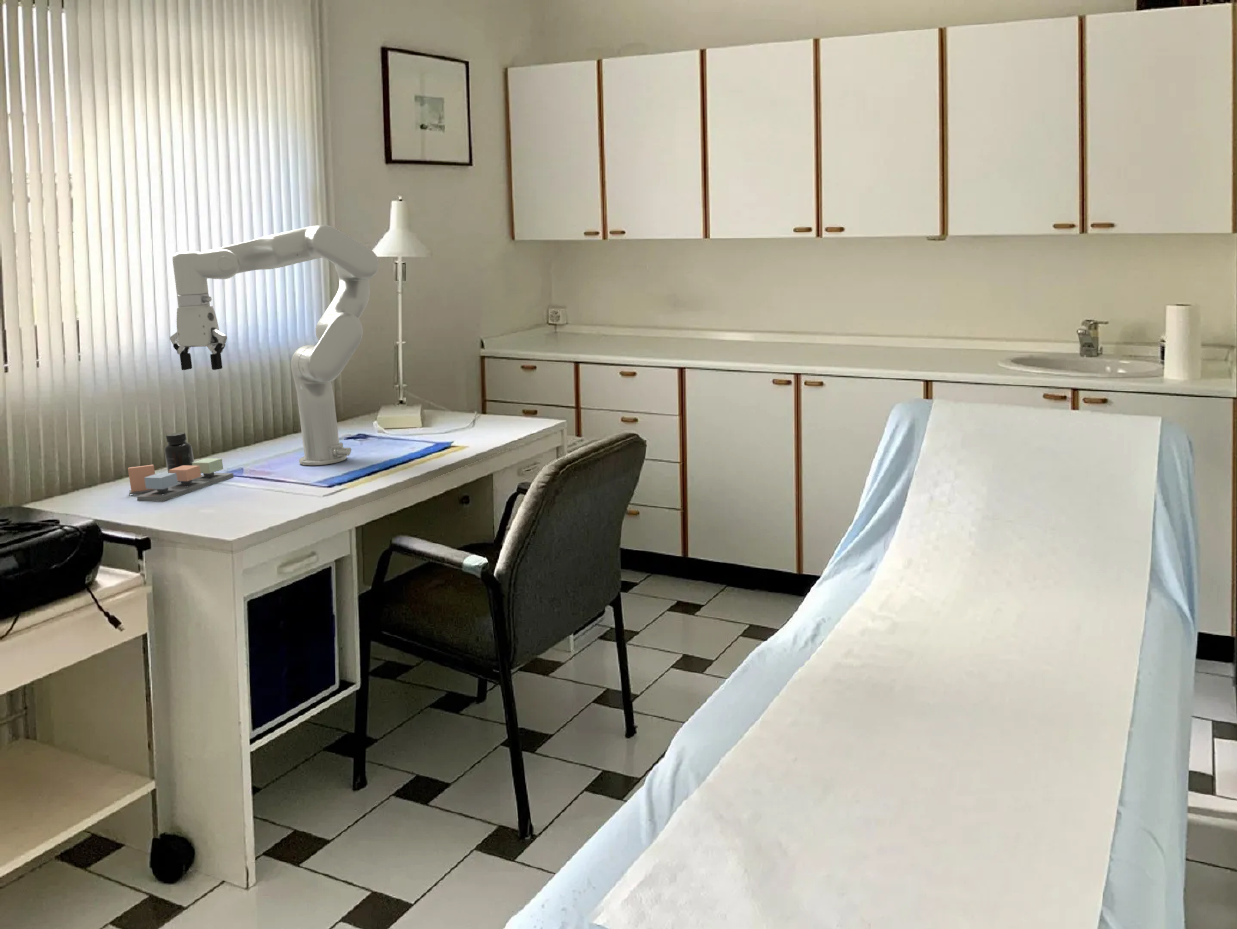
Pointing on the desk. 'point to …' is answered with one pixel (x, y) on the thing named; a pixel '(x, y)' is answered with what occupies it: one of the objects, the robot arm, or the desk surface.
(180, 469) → the button terracotta
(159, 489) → the button slate
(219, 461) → the button sage
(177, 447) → the supplement bottle
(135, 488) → the upright salmon panel
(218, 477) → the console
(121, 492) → the desk surface
